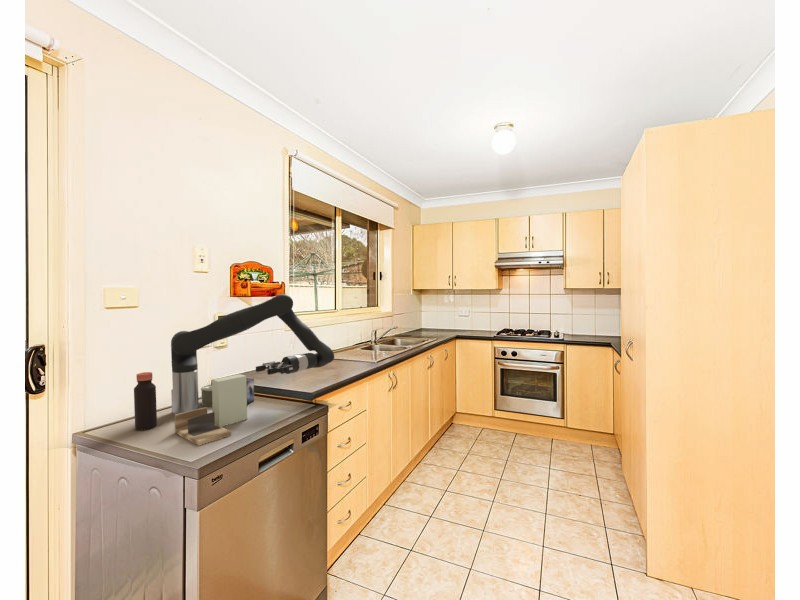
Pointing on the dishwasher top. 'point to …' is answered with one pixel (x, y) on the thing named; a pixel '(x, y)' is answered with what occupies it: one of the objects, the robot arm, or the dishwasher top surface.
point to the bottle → (145, 402)
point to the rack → (199, 426)
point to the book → (229, 399)
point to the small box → (250, 389)
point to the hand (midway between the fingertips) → (261, 370)
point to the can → (207, 395)
